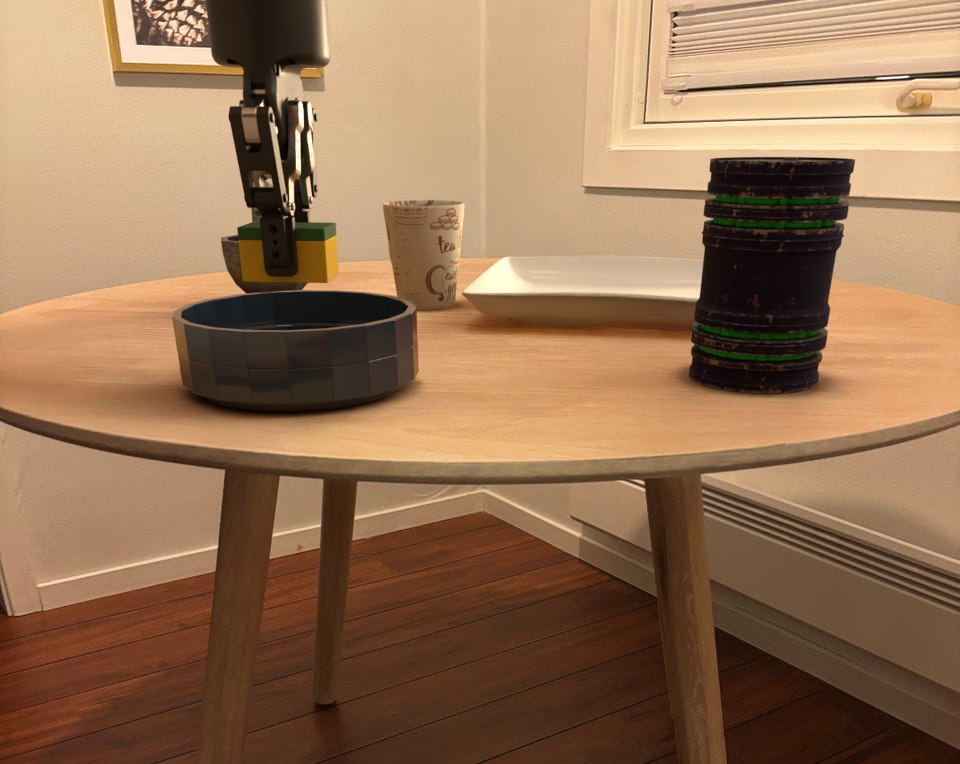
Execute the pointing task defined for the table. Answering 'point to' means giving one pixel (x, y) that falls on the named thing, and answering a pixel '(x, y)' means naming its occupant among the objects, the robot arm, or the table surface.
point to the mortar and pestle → (234, 268)
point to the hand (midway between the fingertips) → (290, 269)
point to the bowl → (297, 348)
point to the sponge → (312, 253)
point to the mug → (425, 250)
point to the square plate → (591, 291)
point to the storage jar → (768, 271)
